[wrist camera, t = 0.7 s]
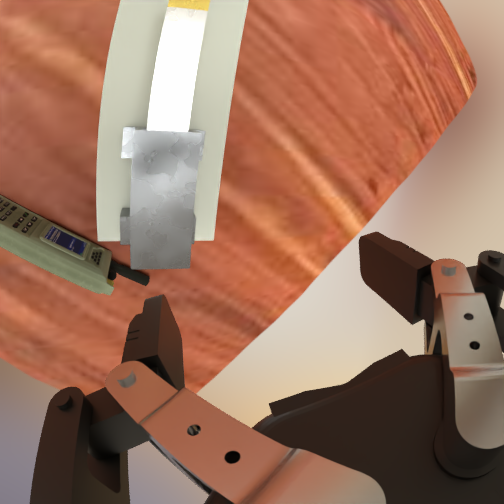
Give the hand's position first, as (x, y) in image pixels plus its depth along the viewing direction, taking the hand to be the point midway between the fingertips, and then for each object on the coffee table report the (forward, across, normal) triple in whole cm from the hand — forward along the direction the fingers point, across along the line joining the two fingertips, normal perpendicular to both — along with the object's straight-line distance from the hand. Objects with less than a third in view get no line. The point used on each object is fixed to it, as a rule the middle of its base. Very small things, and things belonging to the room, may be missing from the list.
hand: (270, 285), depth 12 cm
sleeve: (+23, +6, -3) cm, 24 cm away
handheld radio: (+24, +20, 0) cm, 31 cm away
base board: (+24, +2, -13) cm, 27 cm away
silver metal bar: (+18, +3, -9) cm, 21 cm away
